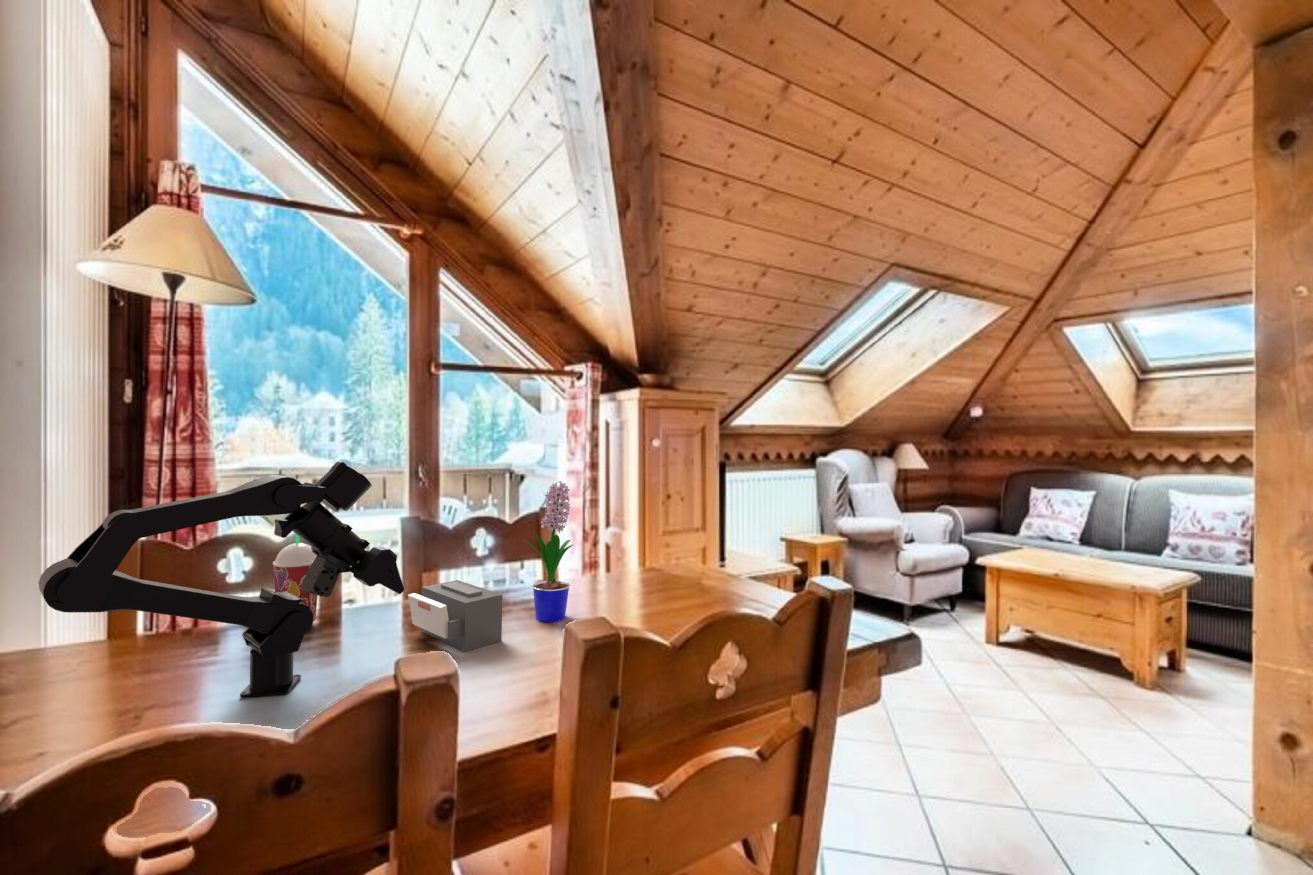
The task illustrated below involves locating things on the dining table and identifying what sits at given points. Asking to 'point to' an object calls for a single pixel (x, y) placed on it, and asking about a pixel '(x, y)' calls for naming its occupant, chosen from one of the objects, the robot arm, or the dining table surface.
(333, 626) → the dining table surface
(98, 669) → the dining table surface
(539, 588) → the hyacinth
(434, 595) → the box
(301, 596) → the smoothie
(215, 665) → the dining table surface
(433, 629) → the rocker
